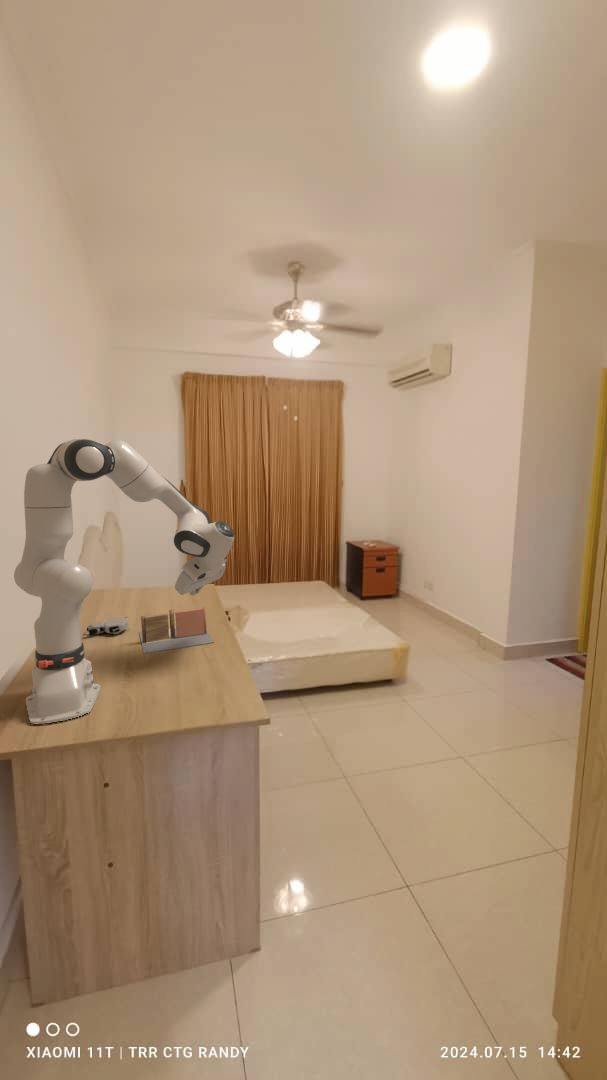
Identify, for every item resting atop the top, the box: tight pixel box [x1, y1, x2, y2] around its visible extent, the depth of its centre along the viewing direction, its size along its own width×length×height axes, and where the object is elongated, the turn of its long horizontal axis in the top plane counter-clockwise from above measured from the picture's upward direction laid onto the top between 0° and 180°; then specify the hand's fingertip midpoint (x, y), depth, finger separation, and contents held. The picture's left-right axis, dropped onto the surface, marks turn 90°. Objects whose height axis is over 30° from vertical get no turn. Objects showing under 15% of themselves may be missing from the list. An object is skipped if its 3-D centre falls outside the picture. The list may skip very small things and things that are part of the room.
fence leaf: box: [174, 607, 208, 638], centre depth 177 cm, size 1×11×10 cm, turn 113°
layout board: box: [138, 627, 215, 655], centre depth 176 cm, size 22×24×1 cm
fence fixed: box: [140, 609, 176, 643], centre depth 172 cm, size 2×11×11 cm, turn 113°
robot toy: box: [83, 616, 129, 636], centre depth 183 cm, size 12×4×15 cm
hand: (193, 593), depth 165 cm, fingers closed
